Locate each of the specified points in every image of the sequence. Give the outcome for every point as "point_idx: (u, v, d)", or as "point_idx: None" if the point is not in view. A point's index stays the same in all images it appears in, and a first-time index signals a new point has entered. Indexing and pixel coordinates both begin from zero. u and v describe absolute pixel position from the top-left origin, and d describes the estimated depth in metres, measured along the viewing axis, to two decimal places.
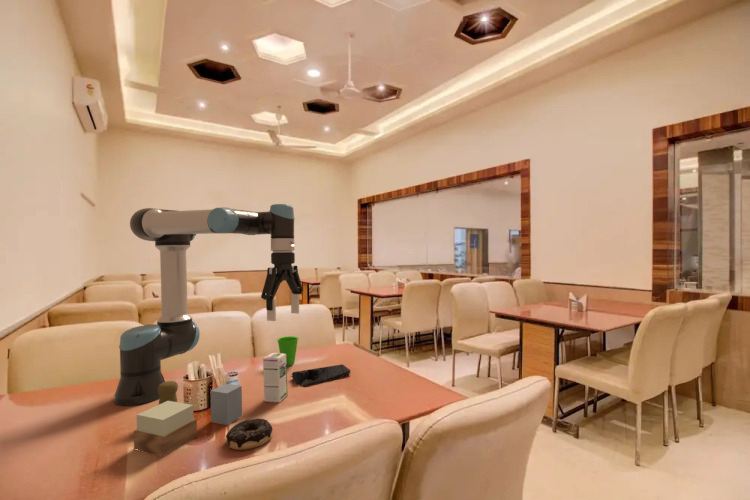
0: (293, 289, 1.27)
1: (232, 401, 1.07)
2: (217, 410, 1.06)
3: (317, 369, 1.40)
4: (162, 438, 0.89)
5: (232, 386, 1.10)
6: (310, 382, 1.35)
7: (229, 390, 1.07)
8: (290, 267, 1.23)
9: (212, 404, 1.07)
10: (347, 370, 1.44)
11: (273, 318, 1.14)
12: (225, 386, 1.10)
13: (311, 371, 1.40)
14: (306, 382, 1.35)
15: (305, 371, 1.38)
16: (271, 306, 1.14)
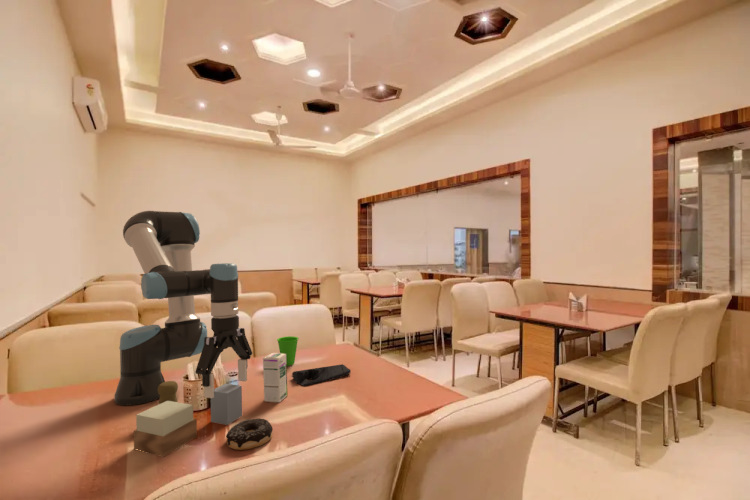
0: (240, 354, 1.14)
1: (232, 401, 1.07)
2: (217, 410, 1.06)
3: (317, 369, 1.41)
4: (162, 438, 0.89)
5: (232, 386, 1.10)
6: (310, 382, 1.35)
7: (229, 390, 1.07)
8: (234, 332, 1.11)
9: (212, 404, 1.07)
10: (347, 370, 1.44)
11: (210, 395, 1.01)
12: (224, 386, 1.10)
13: (311, 371, 1.41)
14: (306, 382, 1.35)
15: (305, 371, 1.39)
16: (208, 382, 1.01)
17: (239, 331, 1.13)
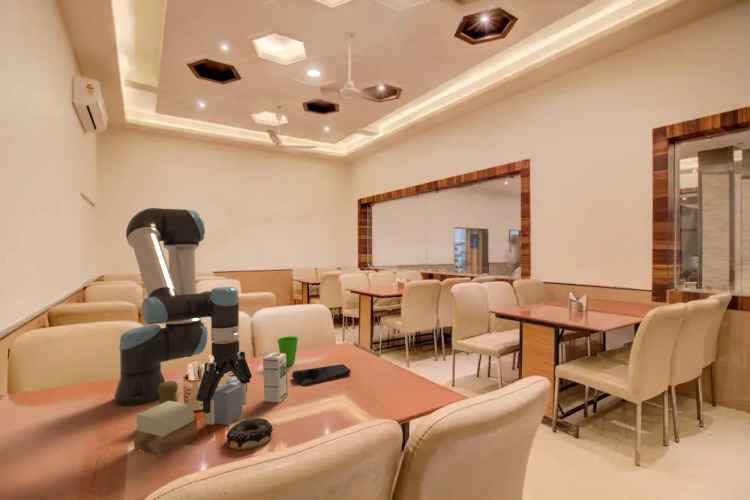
0: (239, 378, 1.14)
1: (232, 401, 1.07)
2: (217, 410, 1.06)
3: (317, 368, 1.41)
4: (162, 438, 0.89)
5: (232, 386, 1.10)
6: (310, 381, 1.35)
7: (229, 390, 1.07)
8: (235, 356, 1.11)
9: None
10: (347, 370, 1.44)
11: (211, 421, 1.02)
12: (224, 386, 1.10)
13: (311, 370, 1.41)
14: (306, 381, 1.35)
15: (305, 370, 1.39)
16: (208, 408, 1.01)
17: (239, 355, 1.14)
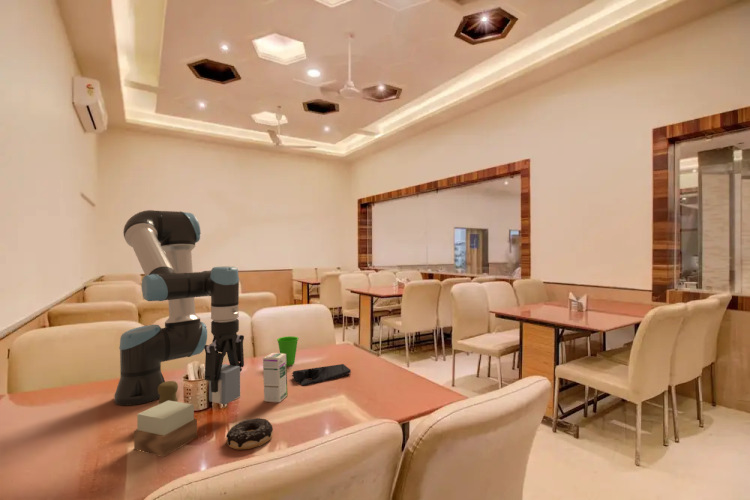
0: (232, 364, 1.12)
1: (230, 381, 1.07)
2: None
3: (317, 368, 1.41)
4: (162, 438, 0.89)
5: (231, 366, 1.10)
6: (310, 381, 1.35)
7: (228, 370, 1.07)
8: (235, 334, 1.11)
9: (210, 383, 1.07)
10: (347, 370, 1.45)
11: (218, 400, 1.05)
12: (223, 366, 1.10)
13: (311, 370, 1.41)
14: (306, 381, 1.35)
15: (305, 370, 1.39)
16: (216, 387, 1.05)
17: (238, 337, 1.14)
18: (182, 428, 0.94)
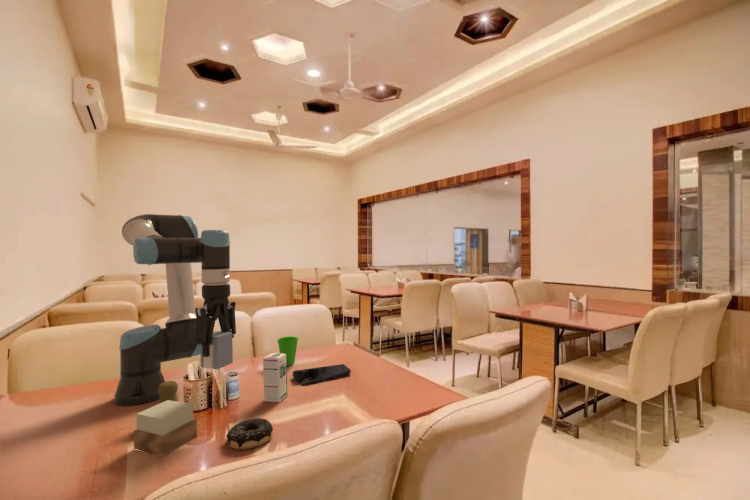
0: (224, 331, 1.10)
1: (222, 345, 1.05)
2: None
3: (317, 368, 1.41)
4: (162, 438, 0.89)
5: (222, 332, 1.08)
6: (310, 381, 1.36)
7: (219, 335, 1.05)
8: (226, 300, 1.09)
9: None
10: (347, 370, 1.45)
11: (210, 365, 1.03)
12: (215, 332, 1.08)
13: (311, 370, 1.41)
14: (306, 381, 1.36)
15: (305, 370, 1.39)
16: (208, 352, 1.02)
17: (230, 303, 1.11)
18: (182, 428, 0.94)
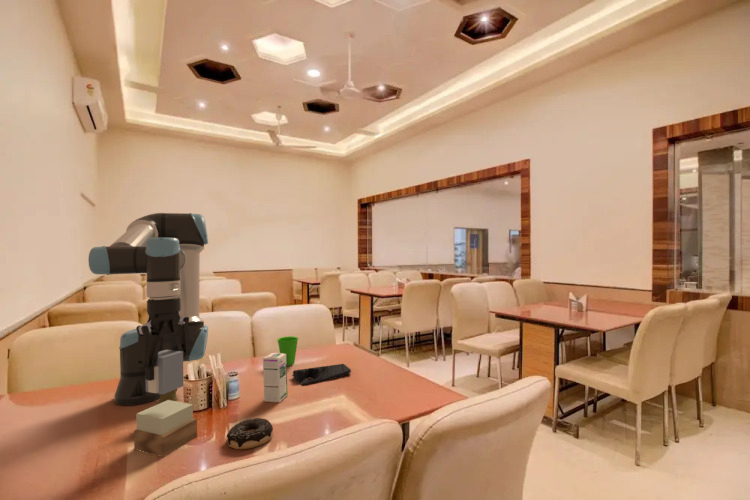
0: (175, 349, 0.98)
1: (170, 367, 0.93)
2: None
3: (317, 368, 1.42)
4: (162, 438, 0.89)
5: (172, 352, 0.97)
6: (310, 381, 1.36)
7: (167, 355, 0.94)
8: (176, 315, 0.98)
9: None
10: (347, 369, 1.45)
11: (155, 390, 0.92)
12: (163, 352, 0.97)
13: (311, 370, 1.42)
14: (306, 381, 1.36)
15: (305, 370, 1.40)
16: (152, 375, 0.91)
17: (182, 319, 1.00)
18: (182, 428, 0.94)
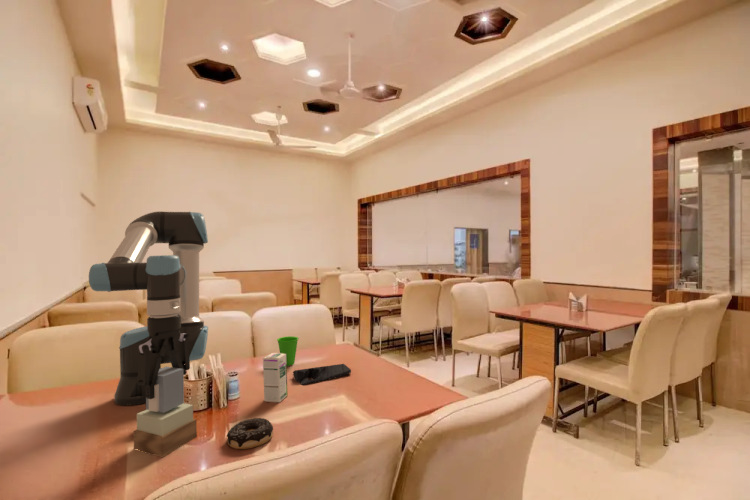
0: (175, 366, 0.98)
1: (170, 385, 0.94)
2: None
3: (317, 368, 1.42)
4: (162, 438, 0.89)
5: (172, 369, 0.97)
6: (310, 381, 1.36)
7: (167, 373, 0.94)
8: (177, 332, 0.98)
9: None
10: (347, 369, 1.45)
11: (155, 408, 0.92)
12: (164, 369, 0.97)
13: (312, 370, 1.42)
14: (306, 381, 1.36)
15: (305, 370, 1.40)
16: (152, 393, 0.91)
17: (183, 336, 1.00)
18: (181, 428, 0.94)
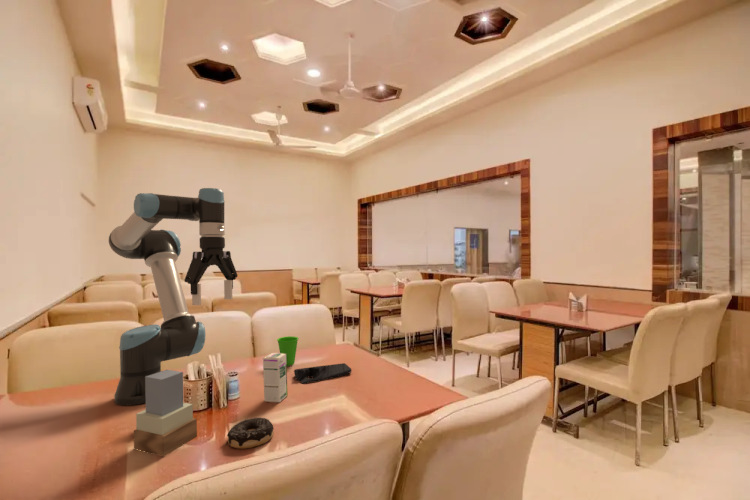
0: (226, 275, 1.26)
1: (169, 388, 0.93)
2: (152, 398, 0.93)
3: (318, 367, 1.43)
4: (162, 437, 0.89)
5: (172, 372, 0.97)
6: (310, 380, 1.37)
7: (166, 376, 0.94)
8: (221, 252, 1.22)
9: (147, 392, 0.94)
10: (348, 369, 1.45)
11: (198, 302, 1.13)
12: (164, 372, 0.97)
13: (312, 369, 1.43)
14: (306, 379, 1.37)
15: (306, 369, 1.41)
16: (195, 290, 1.13)
17: (225, 253, 1.25)
18: (182, 427, 0.94)
